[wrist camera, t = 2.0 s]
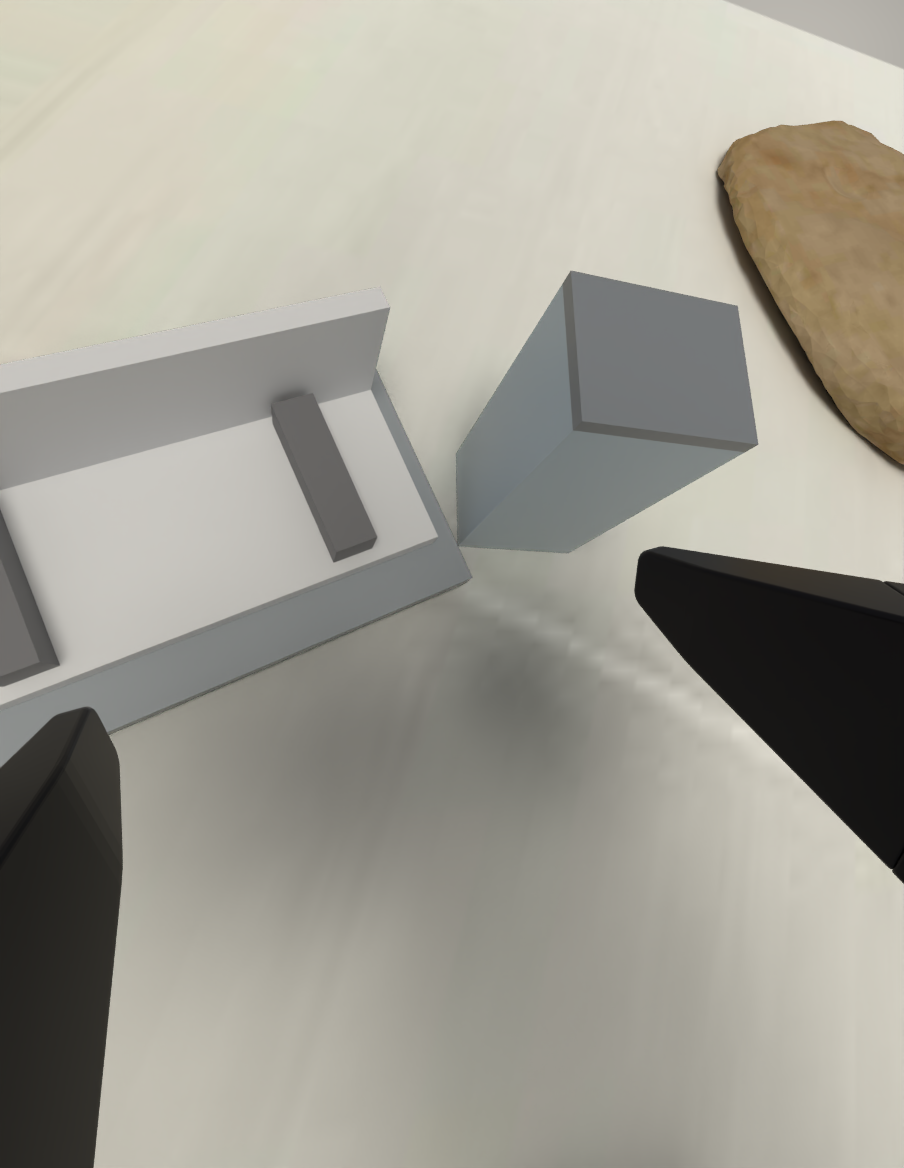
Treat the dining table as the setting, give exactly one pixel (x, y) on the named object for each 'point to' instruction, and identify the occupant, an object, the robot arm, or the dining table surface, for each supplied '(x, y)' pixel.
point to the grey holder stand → (203, 510)
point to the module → (603, 416)
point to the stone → (832, 258)
